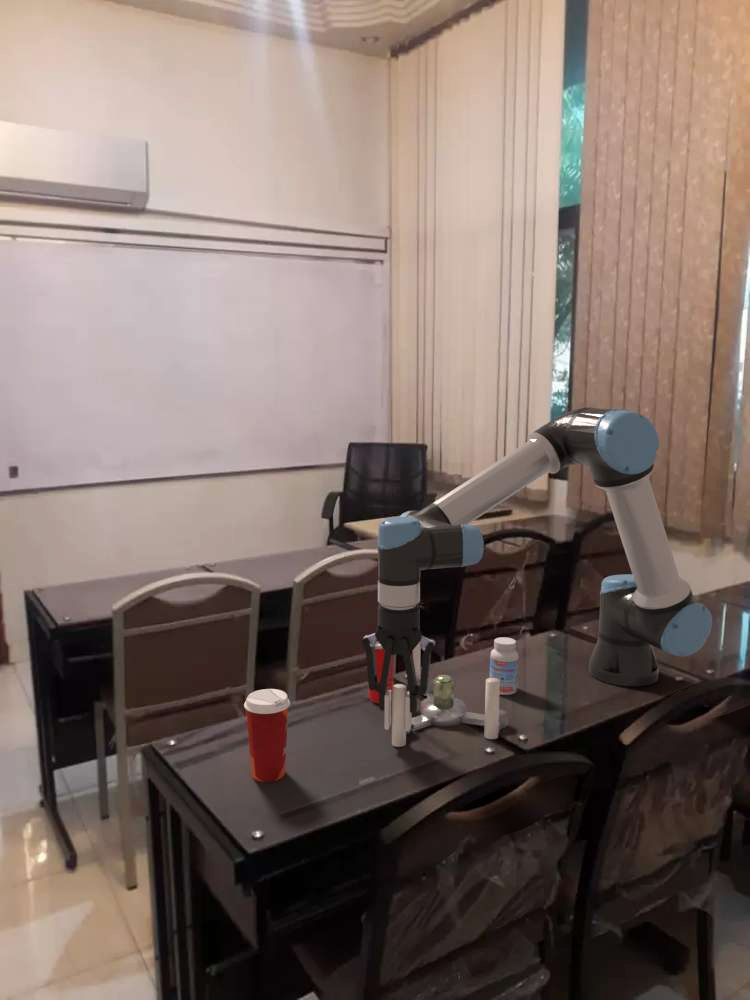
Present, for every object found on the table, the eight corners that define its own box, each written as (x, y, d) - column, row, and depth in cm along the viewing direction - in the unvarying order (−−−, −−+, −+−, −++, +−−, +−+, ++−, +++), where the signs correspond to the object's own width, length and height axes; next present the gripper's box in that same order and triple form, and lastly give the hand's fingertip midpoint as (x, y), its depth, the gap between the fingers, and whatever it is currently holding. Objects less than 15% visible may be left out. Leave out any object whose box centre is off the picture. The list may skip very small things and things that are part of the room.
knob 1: (392, 726, 152) (393, 671, 150) (411, 727, 151) (412, 672, 150) (388, 746, 143) (388, 689, 142) (408, 747, 143) (408, 690, 141)
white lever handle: (443, 694, 167) (444, 644, 165) (430, 698, 165) (431, 647, 163) (416, 681, 174) (416, 633, 172) (403, 685, 172) (404, 636, 170)
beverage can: (390, 705, 162) (391, 649, 160) (366, 703, 163) (366, 647, 161) (395, 695, 167) (395, 641, 165) (371, 693, 168) (371, 639, 166)
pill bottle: (486, 693, 168) (488, 643, 166) (491, 683, 174) (493, 634, 172) (515, 697, 166) (516, 646, 164) (519, 686, 172) (521, 637, 170)
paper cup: (300, 773, 134) (299, 695, 132) (265, 790, 129) (264, 710, 126) (270, 758, 139) (269, 683, 137) (235, 774, 134) (233, 696, 131)
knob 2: (490, 719, 155) (492, 665, 153) (508, 722, 154) (510, 668, 152) (480, 737, 147) (481, 681, 145) (499, 741, 146) (500, 684, 144)
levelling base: (471, 696, 167) (472, 659, 165) (491, 726, 153) (493, 686, 151) (394, 700, 164) (394, 663, 163) (407, 731, 150) (407, 690, 149)
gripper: (446, 600, 142) (444, 722, 146) (359, 595, 145) (359, 714, 149) (441, 612, 135) (439, 740, 139) (350, 607, 138) (350, 732, 142)
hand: (398, 726), depth 144 cm, fingers open, 3 cm apart
